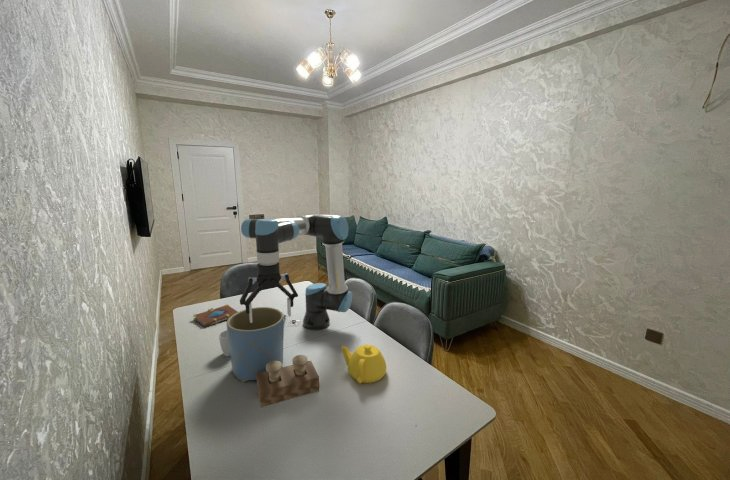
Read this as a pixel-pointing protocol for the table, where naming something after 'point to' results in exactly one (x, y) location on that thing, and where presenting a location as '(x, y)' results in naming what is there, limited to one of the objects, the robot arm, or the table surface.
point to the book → (214, 315)
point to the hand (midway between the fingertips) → (270, 318)
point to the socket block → (287, 384)
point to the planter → (255, 341)
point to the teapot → (365, 363)
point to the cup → (224, 343)
